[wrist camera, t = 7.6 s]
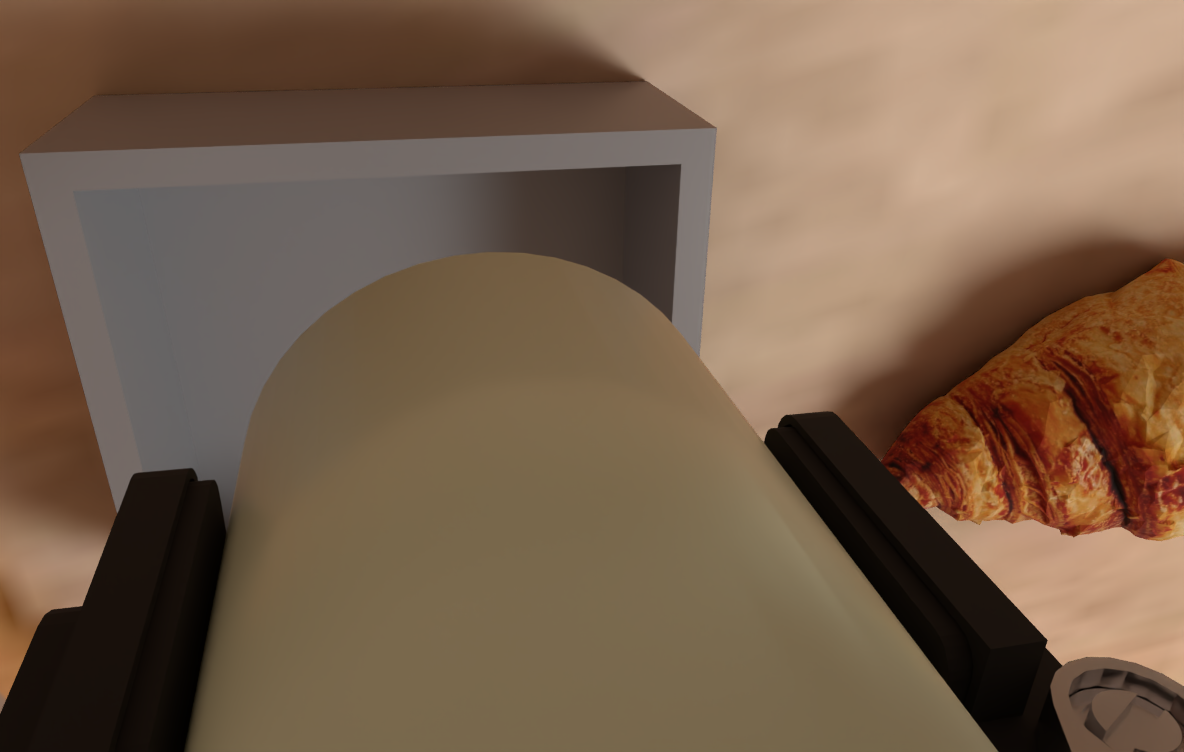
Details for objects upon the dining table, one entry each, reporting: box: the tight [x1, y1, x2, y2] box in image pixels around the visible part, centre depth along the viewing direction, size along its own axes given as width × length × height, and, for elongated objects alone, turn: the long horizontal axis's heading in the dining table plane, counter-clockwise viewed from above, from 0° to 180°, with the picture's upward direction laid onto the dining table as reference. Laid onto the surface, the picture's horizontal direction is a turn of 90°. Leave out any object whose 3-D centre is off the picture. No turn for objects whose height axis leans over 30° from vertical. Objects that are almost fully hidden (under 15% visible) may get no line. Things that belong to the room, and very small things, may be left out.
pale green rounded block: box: [184, 252, 998, 752], centre depth 8 cm, size 6×6×8 cm
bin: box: [19, 81, 717, 533], centre depth 26 cm, size 15×15×6 cm
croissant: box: [881, 258, 1184, 541], centre depth 33 cm, size 21×10×8 cm, turn 103°
